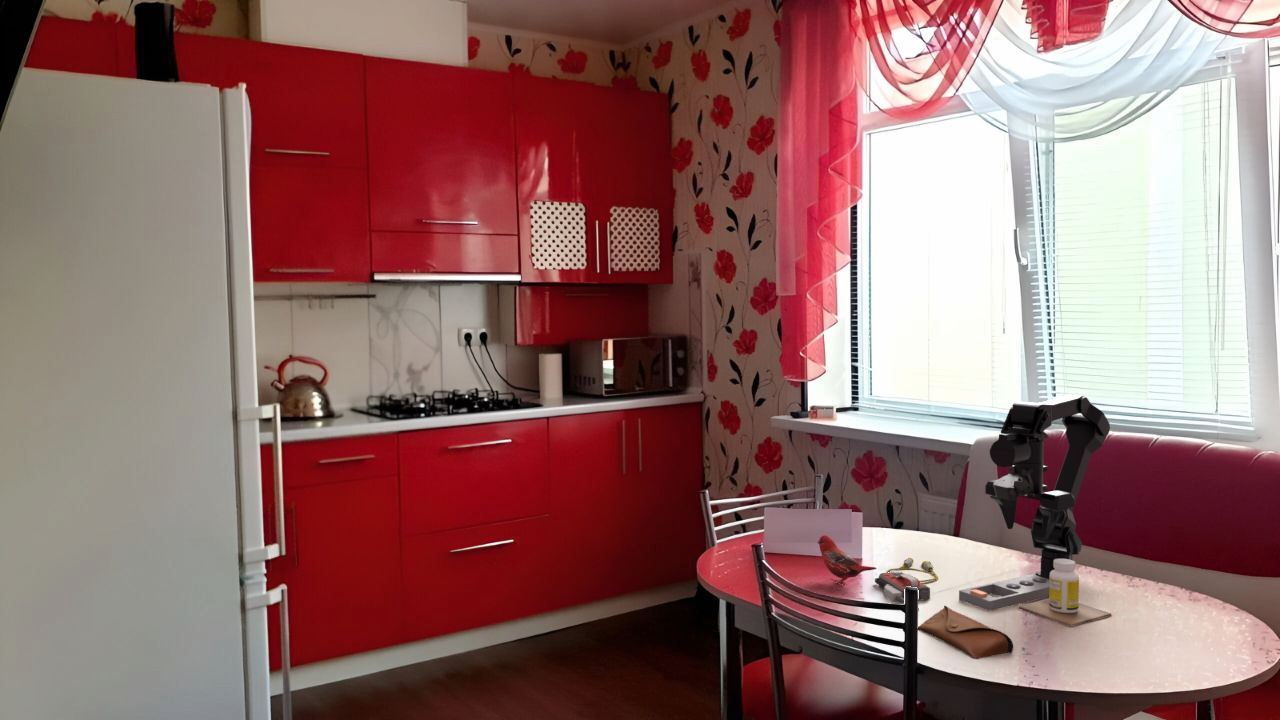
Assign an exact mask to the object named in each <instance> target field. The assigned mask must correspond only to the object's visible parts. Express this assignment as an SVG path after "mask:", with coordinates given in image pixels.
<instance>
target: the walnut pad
mask: <svg viewBox="0 0 1280 720" xmlns="http://www.w3.org/2000/svg"><path fill="white" fill-rule="evenodd" d="M1018 610H1021V611H1023V612H1025V613H1026V612H1027V613H1028V614H1029V613H1030V614H1032V615H1035V616H1038V617H1041V618H1043V619H1046V620H1049V621H1053V622H1055V623H1058V624H1061V625H1064V626H1067V627H1068V628H1069V627H1070V628H1071V627H1075V626H1079V625H1083V624H1087V623H1090V622H1094V621H1097V620H1098V621H1099V620H1100V619H1104V618H1108V617H1112V613H1111V612H1108V611H1106V610H1102V609H1099V608H1095V607H1092V606H1090V605H1087V604H1084V603H1080V602H1079V609H1078V611H1077V612H1075V613H1060V612H1056V611H1053V610H1052V609H1050V607H1049V598H1047V599H1044V600H1043V599H1042V600H1039V601H1035V602H1031V603H1027V604H1022V605H1018Z"/></svg>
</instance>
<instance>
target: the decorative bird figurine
mask: <svg viewBox="0 0 1280 720" xmlns="http://www.w3.org/2000/svg"><path fill="white" fill-rule="evenodd" d="M817 544H818V545H819V550H820V553H821V558H822V561H823V563H824V565H825V567H826V568H827V569H828V571H829V572H830V573H831V574H832V575H834V576H836V577H838V578H839V580H838V579H833V578H830V580H831V581H833V582H834V583H835V582H837V583H836V584H838V583H840V584H839V585H842V584H843V585H842V586H848V584H847V583H846V582H845V581H846V580H847V579H849V578H855V577H857V576H858V575H859V574H861V573H862V572H863V573H864V572H866V571H867V572H868V571H872V570H873V571H875V570H878V569H877V567H876V566H875V567H874V566H867V565H861V564H859V562H858V561H856V559H854V558H853V557H852V556H850V555H849V554H848V553H846V552H845V551H843V550H842V549H841V548H839V547H838V545H837V544H836V543H835V541H834V540H833V539H832V538H831V537H829V535H826V534H823V535H822V536H820V537H819V540H818V541H817Z"/></svg>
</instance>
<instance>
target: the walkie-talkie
mask: <svg viewBox="0 0 1280 720" xmlns="http://www.w3.org/2000/svg"><path fill="white" fill-rule="evenodd" d="M919 581H920V580H919V579H918V578H917V577H915V576H914V575H912V574H910V573H904V572H903V571H891V572H889V573H886V572H882V573H880V574H879V575H878V578H877V577H876V578H874V583H875V584H877V585H878V588H881V589H882V590H883V589H884V590H883V591H884V597H885V598H887V599H888V600H890V601H891V602H892V603H900V604H903V603H904V589H905V587H906V586H911V587H917V588H918V590H919V600H918V601H924V602H925V601H927V600H930V599H931V587H929V586H928V585H925V584H922V583H923V582H919ZM903 605H904V604H903ZM919 611H920V610H919V607H918V611H917V612H919Z"/></svg>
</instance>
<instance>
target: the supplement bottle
mask: <svg viewBox="0 0 1280 720" xmlns="http://www.w3.org/2000/svg"><path fill="white" fill-rule="evenodd" d="M1053 566H1054V568H1055V570H1052V571H1051V572H1050V576H1049V597H1048V599H1049V607H1050V609H1052V610H1053V611H1056V612H1060V613H1075V612H1077V611H1078V609H1079V603H1080V602H1079V601H1080V577H1079V574H1078V573H1077V572H1076V571H1075V570H1076V568H1077V567H1076V561H1075V560H1073V559H1072V560H1069V559H1055V560H1054V563H1053Z"/></svg>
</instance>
